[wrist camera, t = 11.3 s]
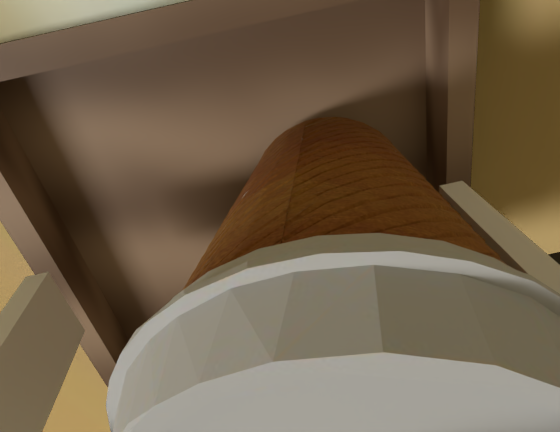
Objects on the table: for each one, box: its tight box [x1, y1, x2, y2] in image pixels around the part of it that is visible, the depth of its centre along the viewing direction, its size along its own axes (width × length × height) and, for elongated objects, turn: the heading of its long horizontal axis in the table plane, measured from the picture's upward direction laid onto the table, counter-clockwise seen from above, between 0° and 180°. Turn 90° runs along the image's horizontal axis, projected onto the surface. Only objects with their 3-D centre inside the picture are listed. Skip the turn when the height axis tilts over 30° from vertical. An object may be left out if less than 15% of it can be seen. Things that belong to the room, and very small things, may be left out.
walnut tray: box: [0, 0, 480, 387], centre depth 17 cm, size 16×18×2 cm
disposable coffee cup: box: [106, 117, 560, 432], centre depth 12 cm, size 10×10×12 cm
